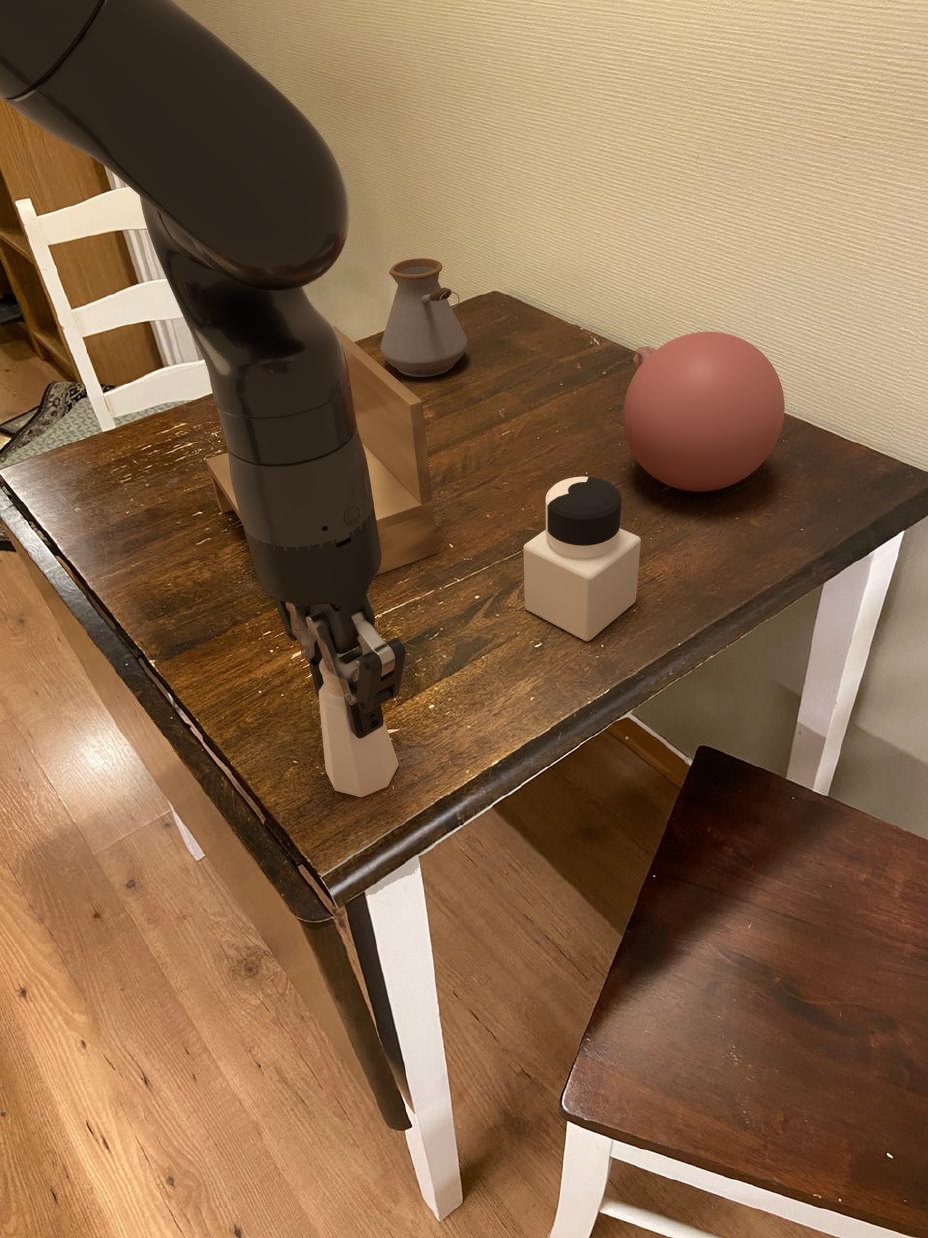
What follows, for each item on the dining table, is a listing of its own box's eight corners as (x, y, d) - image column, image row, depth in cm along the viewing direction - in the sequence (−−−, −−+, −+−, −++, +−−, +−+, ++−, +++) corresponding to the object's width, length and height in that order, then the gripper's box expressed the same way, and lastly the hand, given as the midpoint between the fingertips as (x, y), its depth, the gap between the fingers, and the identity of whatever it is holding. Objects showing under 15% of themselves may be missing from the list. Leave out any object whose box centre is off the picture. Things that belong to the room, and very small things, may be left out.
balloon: (705, 414, 103) (722, 281, 93) (800, 503, 88) (832, 356, 78) (581, 439, 100) (585, 305, 90) (657, 534, 85) (671, 386, 75)
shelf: (281, 610, 80) (241, 455, 70) (219, 508, 94) (178, 366, 83) (437, 553, 85) (422, 400, 75) (357, 464, 99) (334, 325, 89)
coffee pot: (374, 355, 121) (359, 242, 111) (454, 340, 123) (447, 228, 113) (412, 424, 105) (399, 300, 95) (503, 406, 107) (499, 282, 98)
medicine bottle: (637, 602, 78) (647, 485, 70) (587, 644, 74) (592, 526, 66) (573, 571, 82) (575, 458, 74) (523, 609, 78) (520, 494, 70)
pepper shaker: (399, 738, 67) (381, 630, 60) (398, 795, 63) (380, 686, 56) (328, 744, 67) (302, 637, 60) (323, 801, 63) (295, 693, 56)
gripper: (192, 480, 53) (254, 683, 64) (314, 589, 44) (361, 803, 55) (301, 436, 56) (341, 637, 67) (434, 529, 47) (456, 743, 58)
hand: (350, 711), depth 61 cm, fingers closed on pepper shaker, 4 cm apart
